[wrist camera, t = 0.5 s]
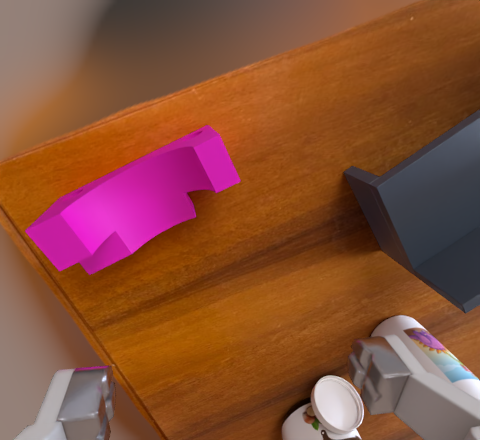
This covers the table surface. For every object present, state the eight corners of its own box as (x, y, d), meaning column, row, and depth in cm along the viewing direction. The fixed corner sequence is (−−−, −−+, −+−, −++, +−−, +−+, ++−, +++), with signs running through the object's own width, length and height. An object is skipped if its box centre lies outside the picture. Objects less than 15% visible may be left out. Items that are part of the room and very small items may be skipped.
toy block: (100, 251, 31) (80, 295, 24) (59, 197, 28) (24, 231, 22) (235, 183, 31) (253, 208, 25) (207, 124, 29) (219, 134, 22)
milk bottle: (380, 365, 46) (516, 542, 28) (357, 337, 43) (494, 515, 25) (424, 334, 46) (591, 494, 27) (404, 303, 42) (579, 461, 24)
